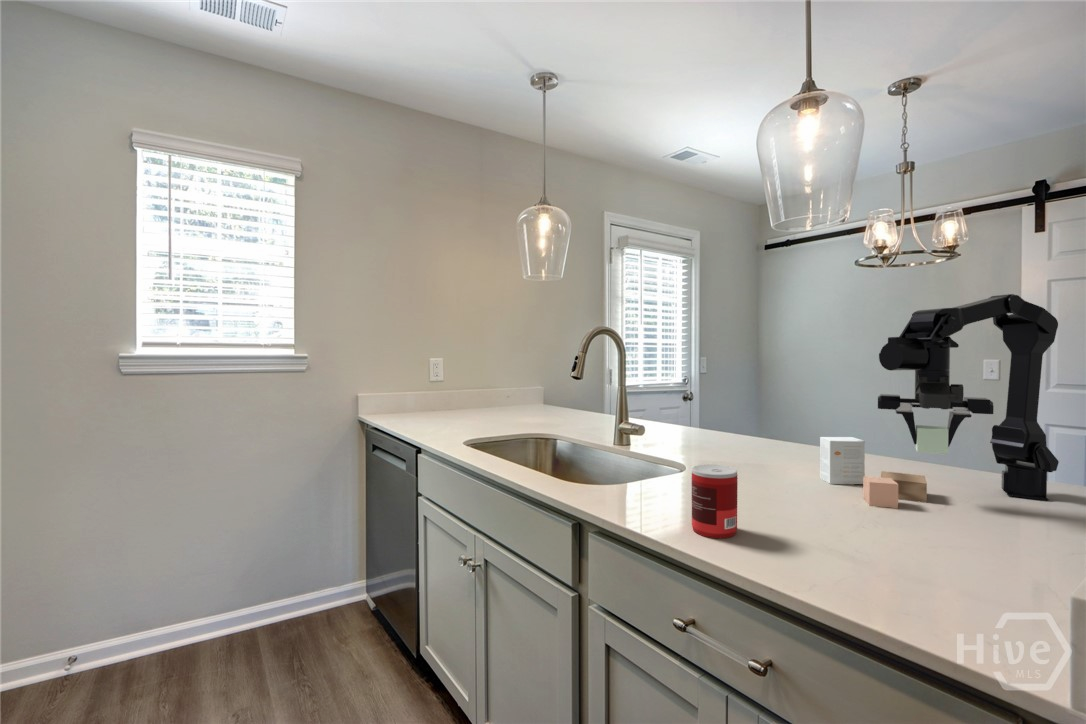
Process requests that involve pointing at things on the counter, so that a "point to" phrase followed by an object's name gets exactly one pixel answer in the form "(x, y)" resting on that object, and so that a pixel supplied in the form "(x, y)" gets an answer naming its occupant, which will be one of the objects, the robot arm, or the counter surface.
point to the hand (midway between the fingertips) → (931, 445)
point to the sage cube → (932, 439)
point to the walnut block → (909, 485)
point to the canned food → (714, 501)
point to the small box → (842, 460)
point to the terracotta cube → (880, 492)
